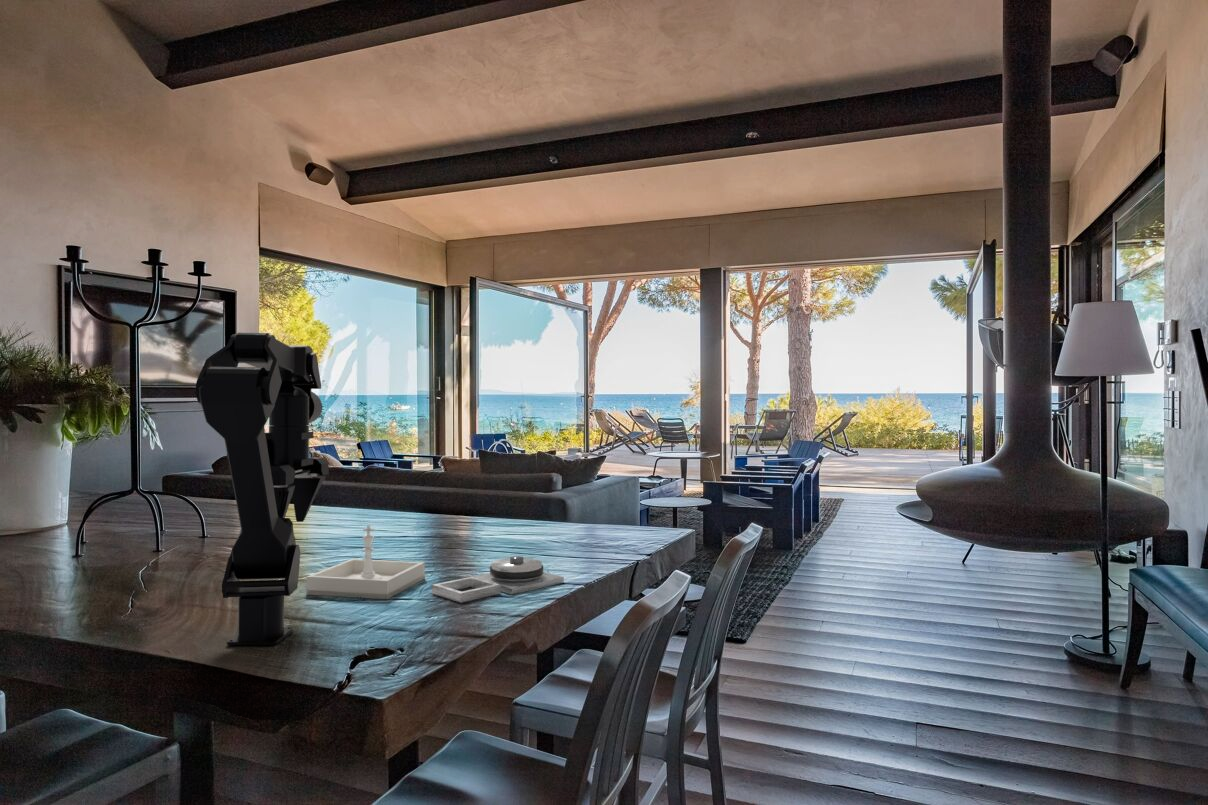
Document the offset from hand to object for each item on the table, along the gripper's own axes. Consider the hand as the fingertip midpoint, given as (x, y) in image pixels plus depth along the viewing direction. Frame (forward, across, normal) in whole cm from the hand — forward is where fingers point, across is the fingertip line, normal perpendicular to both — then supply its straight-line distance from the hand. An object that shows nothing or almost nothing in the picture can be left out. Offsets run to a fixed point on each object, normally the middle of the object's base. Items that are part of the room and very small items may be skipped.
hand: (288, 526), depth 115 cm
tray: (+13, -15, +8) cm, 21 cm away
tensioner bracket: (+13, -15, +31) cm, 36 cm away
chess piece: (+12, -15, +8) cm, 21 cm away
